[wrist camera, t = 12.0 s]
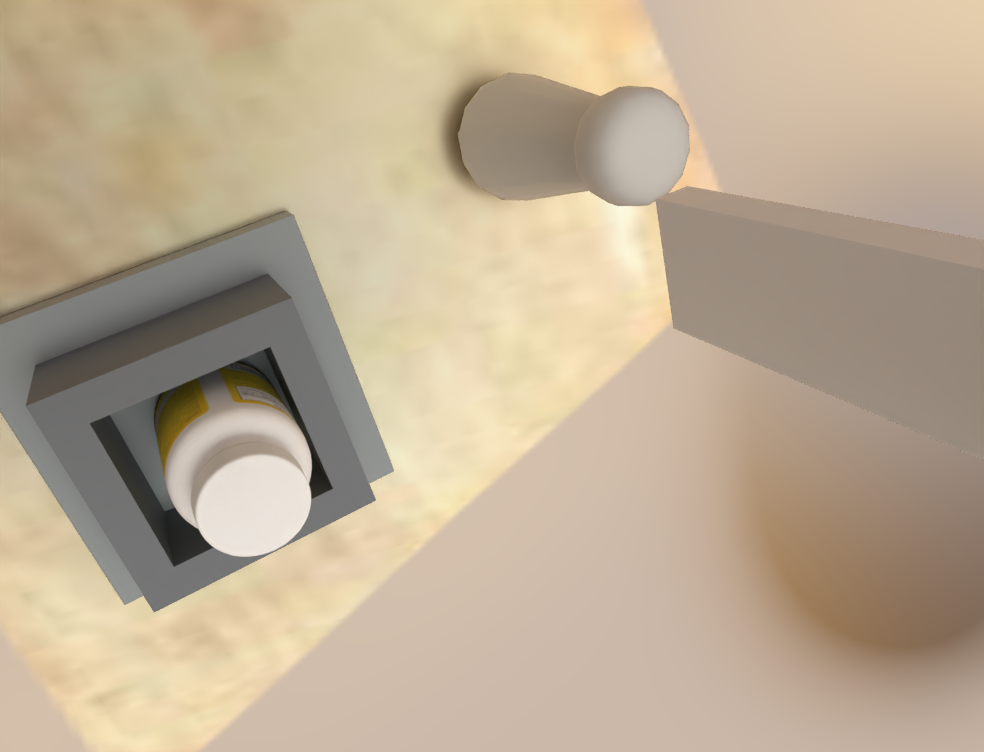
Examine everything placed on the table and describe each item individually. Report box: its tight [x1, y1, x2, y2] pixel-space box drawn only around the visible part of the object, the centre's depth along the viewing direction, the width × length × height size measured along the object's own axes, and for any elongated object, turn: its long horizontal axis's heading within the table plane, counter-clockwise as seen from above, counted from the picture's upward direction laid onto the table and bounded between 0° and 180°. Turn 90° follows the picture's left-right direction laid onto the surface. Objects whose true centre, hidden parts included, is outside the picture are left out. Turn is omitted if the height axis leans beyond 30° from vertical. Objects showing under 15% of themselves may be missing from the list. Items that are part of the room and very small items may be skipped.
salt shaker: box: [457, 73, 690, 206], centre depth 33 cm, size 6×6×13 cm
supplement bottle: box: [154, 360, 312, 557], centre depth 31 cm, size 5×5×10 cm
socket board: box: [0, 211, 394, 612], centre depth 34 cm, size 14×14×6 cm
